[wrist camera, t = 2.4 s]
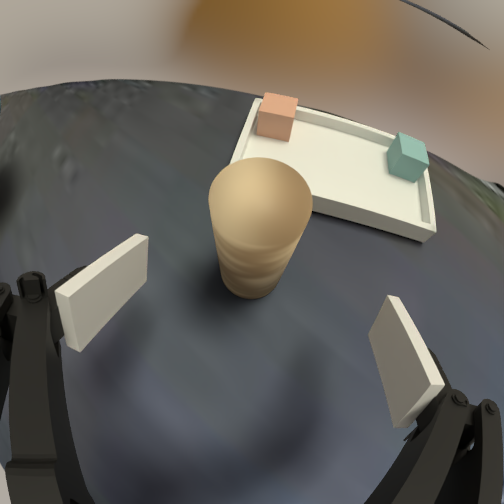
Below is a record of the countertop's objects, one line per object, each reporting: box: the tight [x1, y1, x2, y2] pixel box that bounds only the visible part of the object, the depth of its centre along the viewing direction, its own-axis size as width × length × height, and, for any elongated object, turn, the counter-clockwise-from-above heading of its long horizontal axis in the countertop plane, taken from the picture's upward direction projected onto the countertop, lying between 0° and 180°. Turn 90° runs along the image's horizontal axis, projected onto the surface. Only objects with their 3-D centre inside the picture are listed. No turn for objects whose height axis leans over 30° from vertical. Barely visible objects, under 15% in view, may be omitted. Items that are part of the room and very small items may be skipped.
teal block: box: [387, 132, 429, 183], centre depth 26 cm, size 4×4×4 cm
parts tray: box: [230, 98, 436, 243], centre depth 27 cm, size 21×12×2 cm, turn 77°
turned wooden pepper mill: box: [209, 157, 313, 299], centre depth 18 cm, size 5×5×11 cm
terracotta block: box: [257, 92, 298, 142], centre depth 27 cm, size 4×4×4 cm
